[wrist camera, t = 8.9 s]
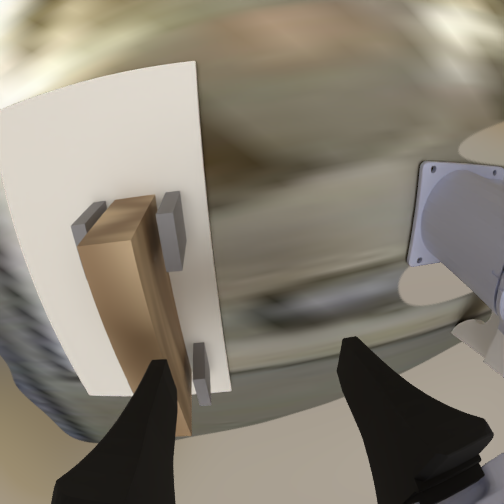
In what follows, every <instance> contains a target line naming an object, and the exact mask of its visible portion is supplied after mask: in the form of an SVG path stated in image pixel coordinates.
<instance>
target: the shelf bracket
mask: <svg viewBox="0 0 504 504" xmlns="http://www.w3.org/2000/svg"><path fill="white" fill-rule="evenodd" d="M499 322H500V319H499V316H497V315H496V314H495V313H494V312H493V311H492V315H491V317H490V319H489V320H488V321H487V322H486V323H484V322H483V321H482V320H476V319H471V320H466V321H464V322H462V323H459V324H458V325H457V326H455V327H454V328H453V330H452V332H451V333H452V334H453V335H454V336H456V337H457V338H458V339H460V340H461V341H462V342H464V343H465V344H467V345H468V346H469V347H470V348H472V349H473V350H474V351H476V352H477V353H478V354H480V355H481V356H482V357H484V358H485V359H484V361H483V362H484V363H486V364H487V365H488V366H489V367H491V368H492V369H493V370H495V371H496V372H497V373H498V374H500V375H501V376H502V377H503V378H504V335H503V334H502V333H501V332H500V330H499V329H498V326H499Z"/></svg>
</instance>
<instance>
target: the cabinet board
mask: <svg viewBox="0 0 504 504" xmlns="http://www.w3.org/2000/svg"><path fill="white" fill-rule="evenodd" d="M0 171H1V176H2V181H3V185H4V190H5V194H6V198H7V202H8V206H9V210H10V214H11V217H12V221H13V224H14V228H15V231H16V234H17V237H18V241H19V244H20V247H21V250H22V253H23V256H24V259H25V261H26V264H27V267H28V270H29V272H30V275H31V278H32V280H33V283H34V285H35V288H36V290H37V293H38V295H39V298H40V300H41V302H42V305H43V307H44V309H45V312H46V314H47V316H48V318H49V320H50V323H51V325H52V327H53V329H54V331H55V333H56V335H57V337H58V339H59V341H60V343H61V345H62V347H63V349H64V351H65V353H66V355H67V357H68V359H69V360H70V362H71V364H72V366H73V368H74V370H75V371H76V373H77V375H78V377H79V378H80V380H81V382H82V383H83V385H84V387H85V389H86V390H87V392H88V393H89V395H97V396H133V394H134V393H133V391H132V389H131V387H130V385H129V383H128V381H127V379H126V377H125V375H124V372H123V370H122V368H121V366H120V364H119V361H118V359H117V357H116V355H115V352H114V350H113V348H112V345H111V343H110V340H109V338H108V336H107V333H106V331H105V328H104V326H103V323H102V320H101V318H100V315H99V312H98V310H97V307H96V304H95V302H94V299H93V296H92V293H91V290H90V287H89V284H88V281H87V278H86V275H85V272H84V269H83V266H82V262H81V259H80V256H79V252H78V249H77V246H78V244H79V243H80V242H81V240H82V239H83V238H84V237H85V235H86V234H87V233H88V232H89V230H90V229H91V228H92V227H93V225H94V224H95V223H96V222H97V220H98V219H99V218H100V217H101V216H102V214H103V213H104V212H105V211H106V210H107V208H108V207H109V206H110V205H111V204H112V203H113V201H114V200H117V199H124V198H131V197H139V196H146V195H154V194H155V198H156V204H157V210H158V211H157V213H156V219H157V225H158V230H159V236H160V242H161V247H162V252H163V257H164V262H165V267H166V272H169V276H170V281H171V286H172V290H173V295H174V300H175V304H176V309H177V313H178V317H179V322H180V326H181V330H182V334H183V338H184V343H185V347H186V351H187V354H188V358H189V362H190V366H191V370H192V394H197V397H198V401H199V404H200V406H208V405H211V393H216V392H227V391H231V381H230V375H229V368H228V362H227V355H226V348H225V341H224V334H223V327H222V320H221V312H220V305H219V297H218V289H217V281H216V273H215V265H214V257H213V248H212V239H211V231H210V221H209V212H208V202H207V193H206V182H205V172H204V161H203V150H202V138H201V126H200V113H199V99H198V85H197V69H196V62H195V61H189V62H181V63H173V64H166V65H159V66H153V67H147V68H141V69H136V70H131V71H126V72H121V73H116V74H112V75H107V76H103V77H99V78H95V79H91V80H87V81H83V82H79V83H76V84H72V85H69V86H65V87H62V88H59V89H56V90H52V91H49V92H46V93H43V94H40V95H37V96H35V97H32V98H29V99H26V100H23V101H21V102H18V103H16V104H13V105H11V106H8V107H6V108H3V109H1V110H0Z"/></svg>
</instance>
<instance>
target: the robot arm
mask: <svg viewBox="0 0 504 504" xmlns="http://www.w3.org/2000/svg"><path fill="white" fill-rule="evenodd" d="M432 166H433V170H432V171H431V167H432ZM418 258H419V260H418V261H417V259H418ZM439 262H442V263H443V264H444V265H445V266H446V267H447V268H448V269H449V270H450V271H452V272H453V273H454V274H455V275H456V276H457V277H458V278H459V279H460V280H461V281H463V282H464V283H465V284H466V285H467V286H468V287H469V288H470V289H471V290H472V291H473V292H474V293H475V294H476V295H477V296H478V297H479V298H480V299H481V300H482V301H483V302H484V303H485V304H486V305H487V306H488V307H489V308H490V309H491V310H492V311H493V312H494V313H495V314H496V315H497V316H499V319H500V322H499V326H498V329H499V330H500V332H501V333H502V334H503V335H504V169H503V168H502V167H500V166H490V165H480V164H468V163H455V162H438V161H424V162H422V164H421V165H420V172H419V182H418V191H417V200H416V207H415V215H414V221H413V228H412V234H411V240H410V246H409V251H408V257H407V263H408V264H409V265H410V266H411V267H414V266H420V265H427V264H433V263H439ZM337 374H338V377H339V381H340V384H341V388H342V391H343V393H344V396H345V398H346V400H347V403H348V405H349V407H350V409H351V412H352V414H353V416H354V419H355V421H356V423H357V426H358V428H359V430H360V433H361V435H362V438H363V441H364V445H365V448H366V452H367V455H368V459H369V463H370V467H371V471H372V476H373V480H374V485H375V490H376V496H377V502H378V504H504V453H501V454H500V455H498V456H497V457H495V458H494V459H492V460H491V461H489V462H488V463H486V464H485V465H484V466H482V467H481V466H480V465H479V462H480V461H481V458H480V456H479V453H480V452H481V451H482V450H483V449H484V448H485V447H486V446H487V445H488V443H489V442H490V441H491V440H492V438H493V436H494V434H493V432H492V430H491V429H490V427H489V425H488V424H487V422H486V421H485V420H484V419H483V418H480V417H477V416H473V415H470V414H467V413H464V412H462V411H459V410H457V409H454V408H452V407H450V406H448V405H446V404H444V403H442V402H440V401H438V400H436V399H434V398H432V397H430V396H429V395H427V394H425V393H424V392H422V391H421V390H419V389H418V388H416V387H414V386H413V385H412V384H410V383H409V382H407V381H406V380H405V379H404V378H402V377H401V376H400V375H398V374H397V373H396V372H395V371H394V370H392V369H391V368H390V367H389V366H388V365H387V364H386V363H384V362H383V361H382V360H381V359H380V358H379V357H378V356H377V355H376V354H375V353H373V352H372V351H371V350H370V349H369V348H368V347H367V346H366V345H365V344H364V343H363V342H362V341H361V340H360V339H359V338H358V337H356V336H355V337H349V338H344V339H343V340H342V346H341V351H340V357H339V362H338V367H337ZM177 413H178V403H177V388H176V385H175V382H174V379H173V377H172V374H171V371H170V368H169V365H168V362H167V359H157V360H152V361H151V362H150V364H149V366H148V368H147V370H146V372H145V374H144V376H143V378H142V380H141V382H140V383H139V385H138V387H137V389H136V391H135V392H134V394H133V396H132V398H131V399H130V401H129V403H128V404H127V406H126V407H125V409H124V411H123V412H122V414H121V415H120V417H119V418H118V420H117V421H116V422H115V424H114V425H113V426H112V428H111V429H110V430H109V432H108V433H107V434H106V435H105V437H104V438H103V439H102V440H101V441H100V442H99V443H98V445H97V446H96V447H95V448H94V449H93V450H92V451H91V452H90V453H89V454H88V455H87V456H86V457H85V458H84V459H83V460H82V461H80V462H79V463H78V464H77V465H76V466H75V467H74V468H72V469H71V470H70V471H69V472H67V473H66V474H64V475H63V476H62V477H61V478H59V479H58V480H57V481H56V484H55V487H54V491H53V496H52V502H51V504H175V492H174V476H173V455H174V444H175V434H176V423H177Z"/></svg>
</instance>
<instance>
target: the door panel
mask: <svg viewBox="0 0 504 504" xmlns="http://www.w3.org/2000/svg"><path fill="white" fill-rule="evenodd" d="M157 211H158V210H157V204H156V198H155V194H154V195H146V196H139V197H131V198H124V199H117V200H114V201H113V203H112V204H111V205H110V206H109V207H108V208H107V210H106V211H105V212H104V213H103V214H102V216H101V217H100V218H99V219H98V220H97V222H96V223H95V224H94V225H93V227H92V228H91V229H90V230H89V232H88V233H87V234H86V235H85V237H84V238H83V239H82V240H81V242H80V243H79V244H78V246H77V249H78V252H79V256H80V259H81V262H82V266H83V269H84V272H85V275H86V278H87V281H88V284H89V287H90V290H91V293H92V296H93V299H94V302H95V304H96V307H97V310H98V312H99V315H100V318H101V320H102V323H103V326H104V328H105V331H106V333H107V336H108V338H109V340H110V343H111V345H112V348H113V350H114V352H115V355H116V357H117V359H118V361H119V364H120V366H121V368H122V370H123V372H124V375H125V377H126V379H127V381H128V383H129V385H130V387H131V389H132V391H133V393H134V392H135V391H136V389H137V387H138V385H139V383H140V382H141V380H142V378H143V376H144V374H145V372H146V370H147V368H148V366H149V364H150V362H151V361H152V360H157V359H167V362H168V365H169V368H170V371H171V374H172V377H173V379H174V382H175V385H176V388H177V403H178V413H177V423H176V434H175V436H192V426H191V407H192V370H191V366H190V362H189V358H188V354H187V351H186V347H185V343H184V338H183V334H182V330H181V326H180V322H179V317H178V313H177V309H176V304H175V300H174V295H173V290H172V286H171V281H170V276H169V272H166V267H165V262H164V257H163V252H162V247H161V242H160V236H159V230H158V225H157V219H156V213H157Z"/></svg>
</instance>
